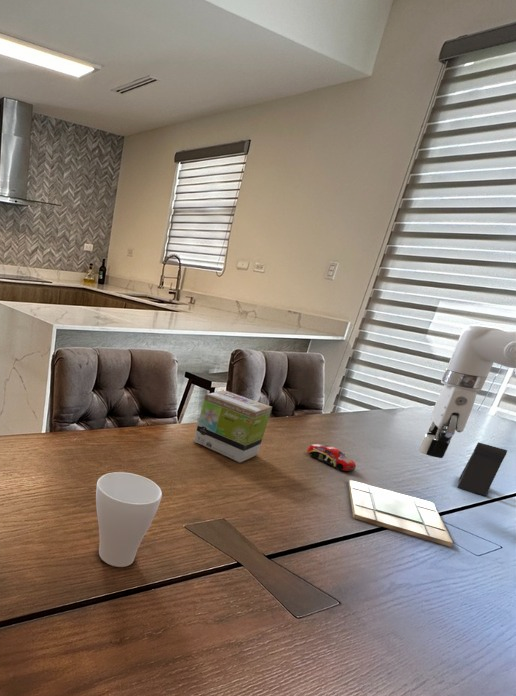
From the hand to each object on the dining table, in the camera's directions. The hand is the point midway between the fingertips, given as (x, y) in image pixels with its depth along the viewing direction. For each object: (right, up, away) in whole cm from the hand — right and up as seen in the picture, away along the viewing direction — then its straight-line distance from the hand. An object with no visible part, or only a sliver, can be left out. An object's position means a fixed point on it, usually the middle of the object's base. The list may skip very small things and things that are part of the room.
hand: (431, 451), depth 115 cm
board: (-14, -14, -7) cm, 21 cm away
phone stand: (+20, -10, +12) cm, 25 cm away
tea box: (-45, 0, +17) cm, 48 cm away
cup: (-81, -17, -34) cm, 89 cm away
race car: (-16, -4, +17) cm, 23 cm away
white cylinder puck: (0, 0, 0) cm, 0 cm away
